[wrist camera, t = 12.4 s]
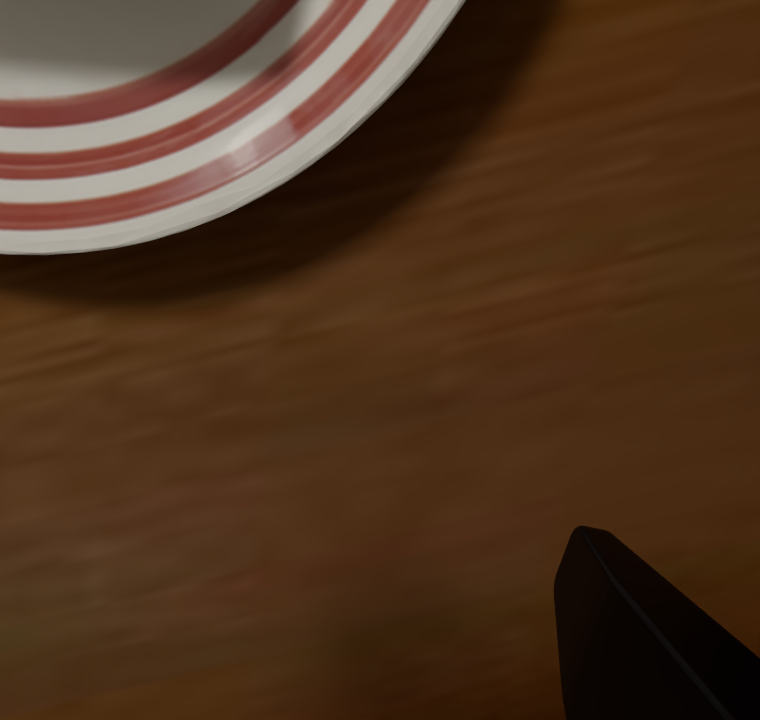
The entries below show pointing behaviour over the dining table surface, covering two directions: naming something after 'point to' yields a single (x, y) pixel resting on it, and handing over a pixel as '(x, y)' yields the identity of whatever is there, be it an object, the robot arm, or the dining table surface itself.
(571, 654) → the robot arm
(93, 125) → the dinner plate
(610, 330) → the dining table surface
